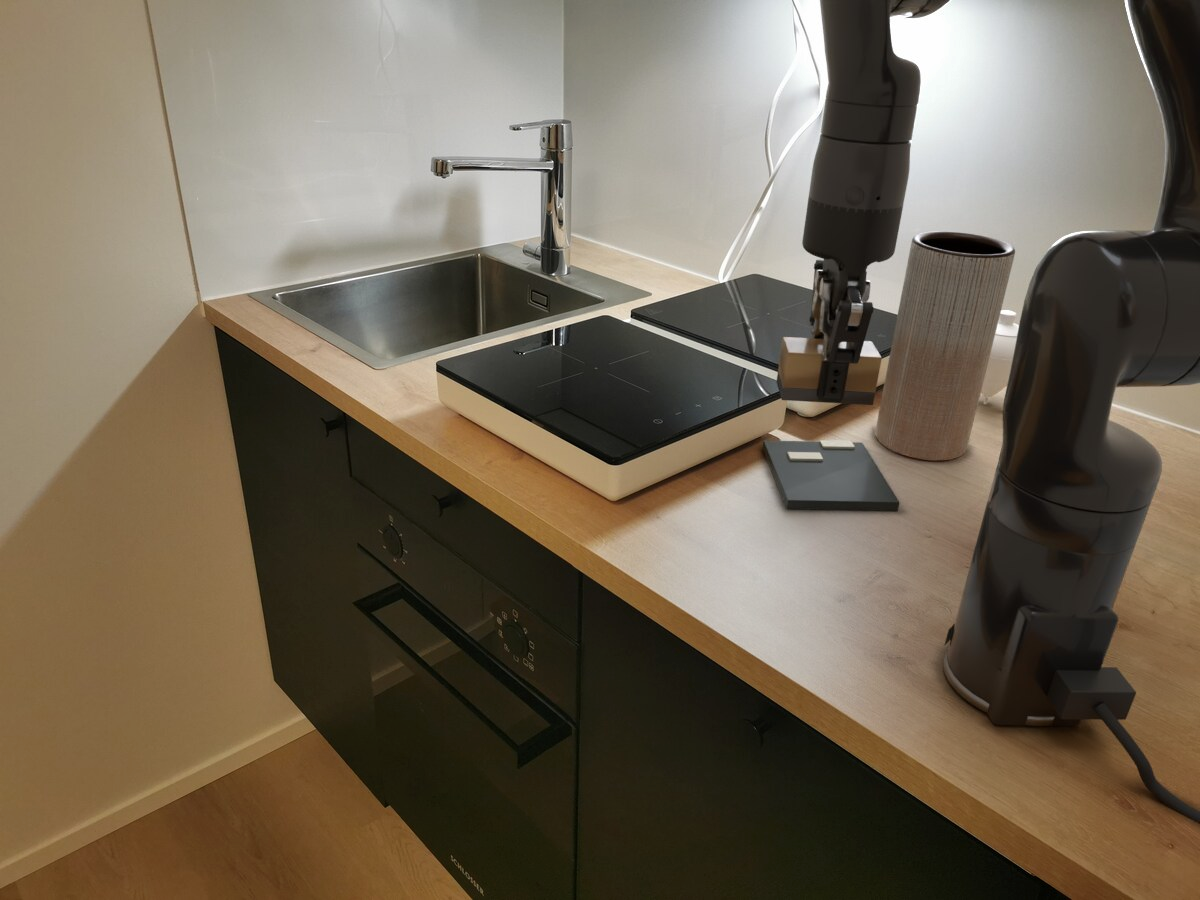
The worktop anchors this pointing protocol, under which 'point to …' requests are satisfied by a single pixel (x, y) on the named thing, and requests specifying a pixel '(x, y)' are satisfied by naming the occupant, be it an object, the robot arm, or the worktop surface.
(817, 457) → the cream rectangular block
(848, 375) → the eraser
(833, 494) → the slate board
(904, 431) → the planter
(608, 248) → the worktop surface
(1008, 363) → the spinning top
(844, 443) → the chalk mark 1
